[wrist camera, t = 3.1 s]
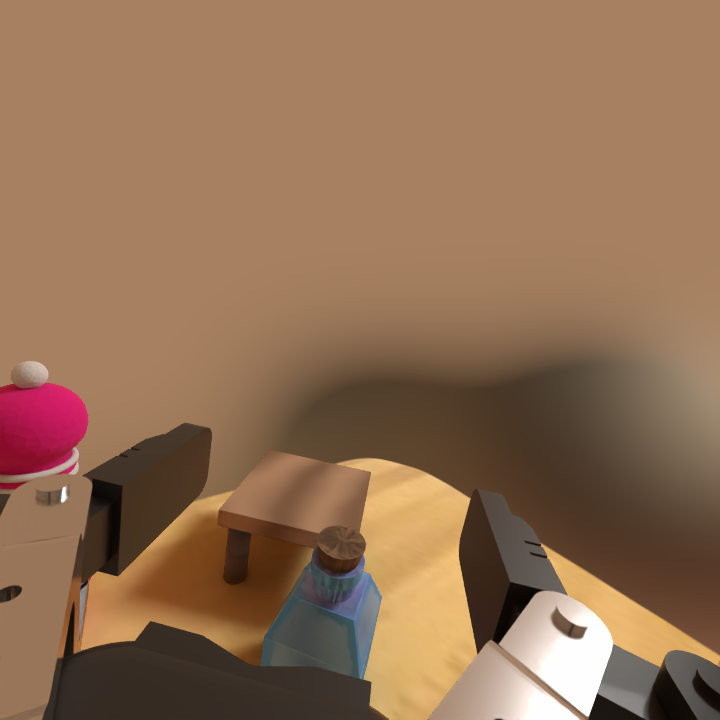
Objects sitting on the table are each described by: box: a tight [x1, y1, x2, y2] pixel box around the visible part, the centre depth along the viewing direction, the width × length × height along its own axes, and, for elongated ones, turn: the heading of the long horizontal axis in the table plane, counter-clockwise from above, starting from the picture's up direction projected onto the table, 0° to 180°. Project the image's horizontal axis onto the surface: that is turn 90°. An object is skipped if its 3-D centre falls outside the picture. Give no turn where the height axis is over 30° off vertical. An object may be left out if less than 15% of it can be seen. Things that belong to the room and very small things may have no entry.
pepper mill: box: [0, 361, 92, 581], centre depth 25 cm, size 7×7×20 cm
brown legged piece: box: [218, 450, 371, 584], centre depth 38 cm, size 12×12×8 cm
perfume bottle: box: [260, 525, 382, 680], centre depth 25 cm, size 6×6×12 cm
